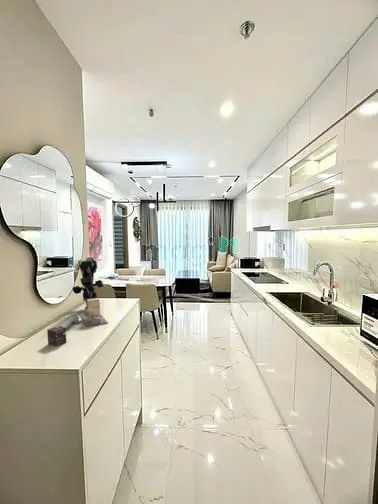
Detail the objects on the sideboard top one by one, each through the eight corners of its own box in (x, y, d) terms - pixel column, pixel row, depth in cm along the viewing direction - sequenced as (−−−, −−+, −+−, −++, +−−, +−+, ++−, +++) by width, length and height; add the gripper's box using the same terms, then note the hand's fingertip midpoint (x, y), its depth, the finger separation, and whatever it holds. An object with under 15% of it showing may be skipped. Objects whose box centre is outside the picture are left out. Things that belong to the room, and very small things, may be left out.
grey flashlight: (51, 328, 154) (71, 309, 179) (53, 340, 156) (72, 320, 180) (61, 328, 154) (79, 309, 179) (63, 339, 155) (81, 320, 180)
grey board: (79, 315, 194) (79, 309, 194) (98, 312, 199) (98, 307, 199) (86, 326, 167) (85, 320, 167) (107, 323, 173) (107, 317, 172)
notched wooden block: (88, 319, 180) (87, 299, 179) (98, 317, 182) (97, 298, 182) (89, 321, 175) (88, 301, 174) (100, 319, 178) (99, 299, 177)
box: (55, 346, 138) (54, 331, 138) (47, 344, 141) (46, 329, 141) (66, 342, 143) (66, 327, 143) (59, 340, 146) (58, 325, 146)
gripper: (68, 275, 189) (70, 298, 182) (97, 268, 192) (101, 289, 184) (74, 283, 199) (76, 304, 191) (102, 275, 201) (105, 296, 194)
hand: (89, 298), depth 190 cm, fingers closed
